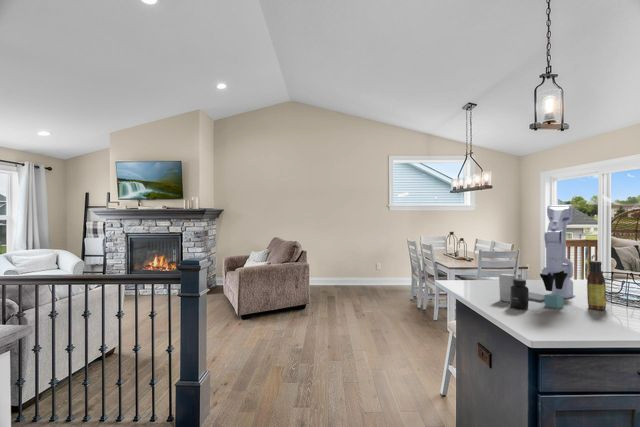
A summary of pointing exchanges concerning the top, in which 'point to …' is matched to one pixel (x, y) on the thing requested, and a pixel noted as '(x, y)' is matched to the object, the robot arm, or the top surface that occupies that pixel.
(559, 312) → the top surface
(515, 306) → the supplement bottle
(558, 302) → the teal cube
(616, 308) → the top surface
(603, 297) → the sauce bottle
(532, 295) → the rubber mat
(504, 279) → the skincare box
